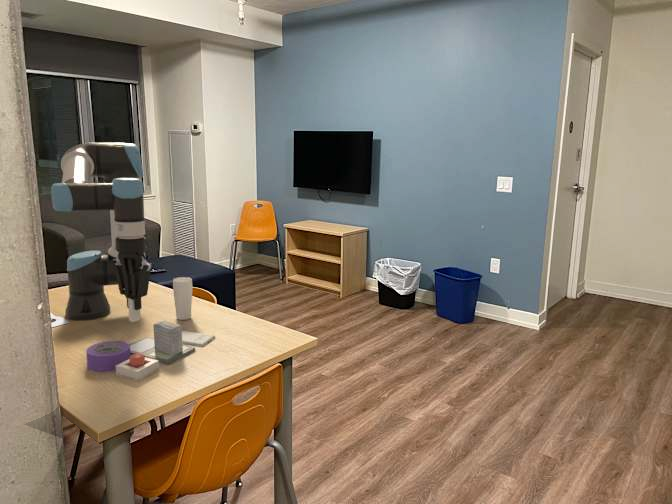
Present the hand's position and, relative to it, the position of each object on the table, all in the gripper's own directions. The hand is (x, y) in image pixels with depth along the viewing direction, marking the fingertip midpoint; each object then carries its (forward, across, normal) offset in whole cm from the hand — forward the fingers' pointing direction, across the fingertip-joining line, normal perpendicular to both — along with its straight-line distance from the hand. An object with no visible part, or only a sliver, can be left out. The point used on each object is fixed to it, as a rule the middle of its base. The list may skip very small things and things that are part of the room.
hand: (135, 320), depth 140 cm
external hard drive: (+17, -3, +27) cm, 32 cm away
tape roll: (+16, -12, +1) cm, 20 cm away
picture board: (+16, -6, +14) cm, 22 cm away
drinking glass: (+16, -19, +42) cm, 49 cm away
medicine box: (+15, -1, +14) cm, 21 cm away
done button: (+14, 0, 0) cm, 14 cm away
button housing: (+16, 0, 0) cm, 16 cm away
